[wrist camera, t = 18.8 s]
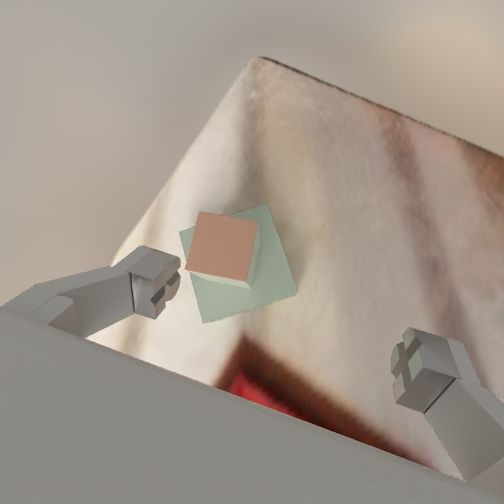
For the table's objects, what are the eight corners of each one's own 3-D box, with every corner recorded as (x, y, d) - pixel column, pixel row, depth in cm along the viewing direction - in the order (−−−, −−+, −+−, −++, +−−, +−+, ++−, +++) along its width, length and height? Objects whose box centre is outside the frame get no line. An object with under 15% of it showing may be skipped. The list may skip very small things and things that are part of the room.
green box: (213, 322, 40) (202, 322, 35) (191, 243, 43) (178, 231, 37) (294, 295, 40) (298, 292, 35) (268, 218, 43) (267, 203, 37)
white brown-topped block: (251, 288, 35) (245, 281, 27) (204, 279, 36) (184, 269, 28) (261, 241, 36) (257, 221, 28) (214, 233, 37) (199, 211, 29)
